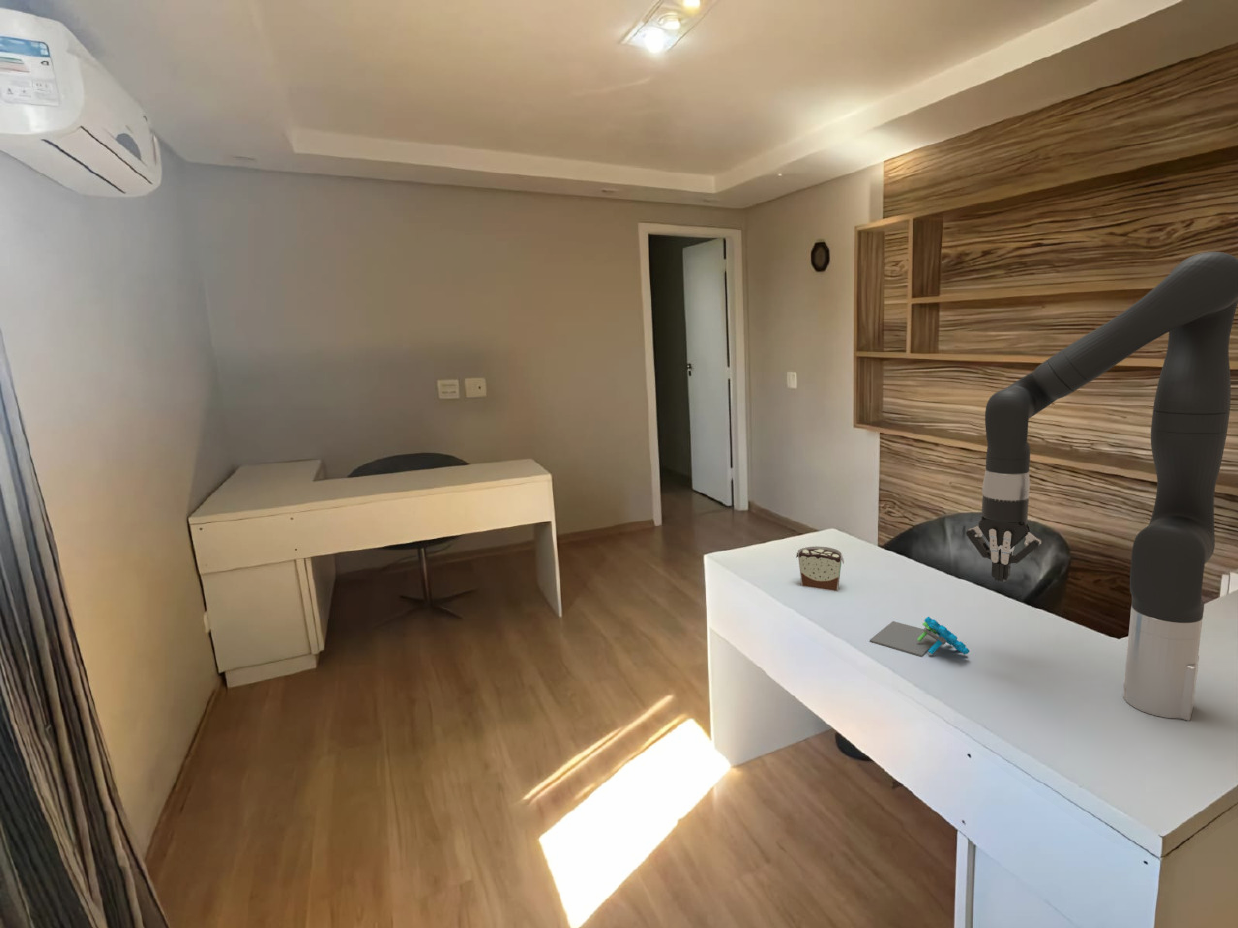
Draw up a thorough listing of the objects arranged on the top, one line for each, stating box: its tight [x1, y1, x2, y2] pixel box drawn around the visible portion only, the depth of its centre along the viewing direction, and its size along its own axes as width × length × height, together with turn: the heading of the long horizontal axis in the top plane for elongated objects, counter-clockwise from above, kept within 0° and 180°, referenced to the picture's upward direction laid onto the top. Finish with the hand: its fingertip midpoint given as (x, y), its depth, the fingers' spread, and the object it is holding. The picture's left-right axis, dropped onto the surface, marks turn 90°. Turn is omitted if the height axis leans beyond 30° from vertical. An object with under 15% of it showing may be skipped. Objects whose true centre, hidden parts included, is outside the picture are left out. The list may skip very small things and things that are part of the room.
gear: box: [917, 616, 971, 655], centre depth 133 cm, size 11×6×10 cm
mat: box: [869, 620, 939, 658], centre depth 140 cm, size 11×12×1 cm
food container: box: [795, 545, 845, 593], centre depth 171 cm, size 12×6×10 cm, turn 58°
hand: (1000, 580), depth 125 cm, fingers closed
